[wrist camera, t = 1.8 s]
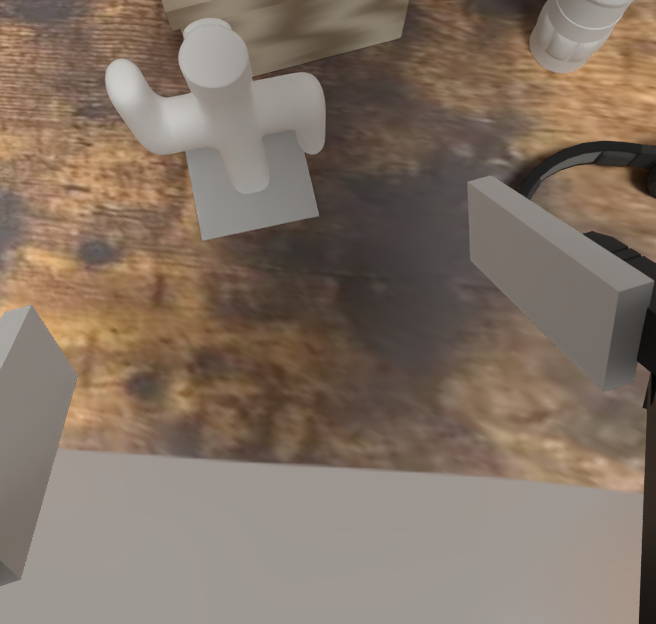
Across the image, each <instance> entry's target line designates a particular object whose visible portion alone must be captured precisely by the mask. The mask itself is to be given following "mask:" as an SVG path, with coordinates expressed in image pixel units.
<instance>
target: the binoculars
mask: <svg viewBox="0 0 656 624" xmlns="http://www.w3.org/2000/svg"><path fill="white" fill-rule="evenodd" d="M632 1H634V0H547V2H546V3H545V5H544V6H543V8H542V10H541V12H540V15H539V17H538V20H537V24H536V26H535V28H534V29H533V31H532V33H531V35H530V40H529V47H530V51H531V53H532V56H533V57H534V59H535V60H536V61H537V62H538V63H539V64H540V65H541V66H542V67H544V68H545V69H547V70H550V71H552V72H556V73H570V72H573V71H576V70H578V69H580V68H581V67H582V66H583V65H585V63H586V62H587V61H588V60H589V58H590V57H591V56H592V54H594V53H595V52H597V51H598V50H599V49H600V47H601V46H602V45H603V44H604V43H605V42H606V40H607V39H608V38H609V36H610V35H611V32H612V30H613V27H614V26H615V25H616V23H617V22H618V21H619V19H620V18H621V17H622V15H623V13H624V11H625V10H626V9H627V7H628V6H629V5H630V4H631V2H632Z"/></svg>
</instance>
